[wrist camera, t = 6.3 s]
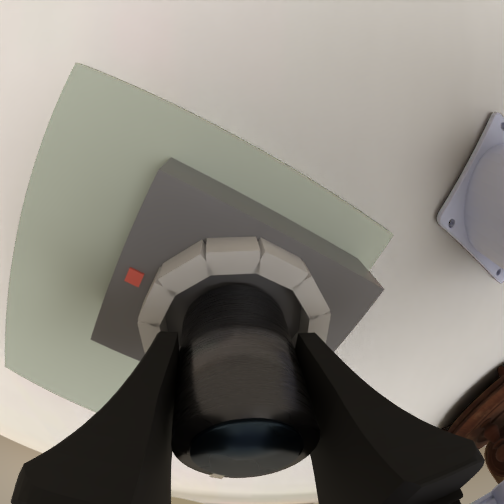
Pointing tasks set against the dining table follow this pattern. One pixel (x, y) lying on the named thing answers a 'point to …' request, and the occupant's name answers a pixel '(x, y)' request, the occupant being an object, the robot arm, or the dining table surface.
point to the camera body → (224, 265)
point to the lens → (240, 388)
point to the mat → (127, 221)
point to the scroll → (486, 425)
